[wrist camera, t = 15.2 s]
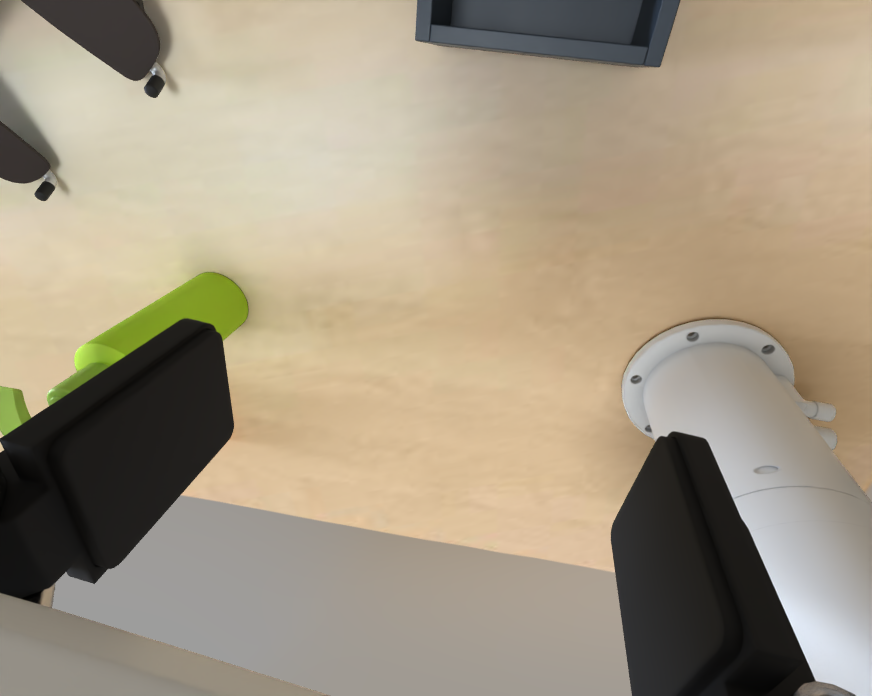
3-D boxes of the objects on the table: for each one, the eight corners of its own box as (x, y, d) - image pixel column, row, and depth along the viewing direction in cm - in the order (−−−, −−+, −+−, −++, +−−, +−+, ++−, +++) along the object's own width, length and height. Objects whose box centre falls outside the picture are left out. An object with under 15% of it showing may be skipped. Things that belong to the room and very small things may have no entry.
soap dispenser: (239, 265, 41) (34, 399, 25) (253, 331, 45) (82, 488, 28) (181, 258, 42) (-56, 384, 25) (198, 324, 46) (2, 472, 29)
